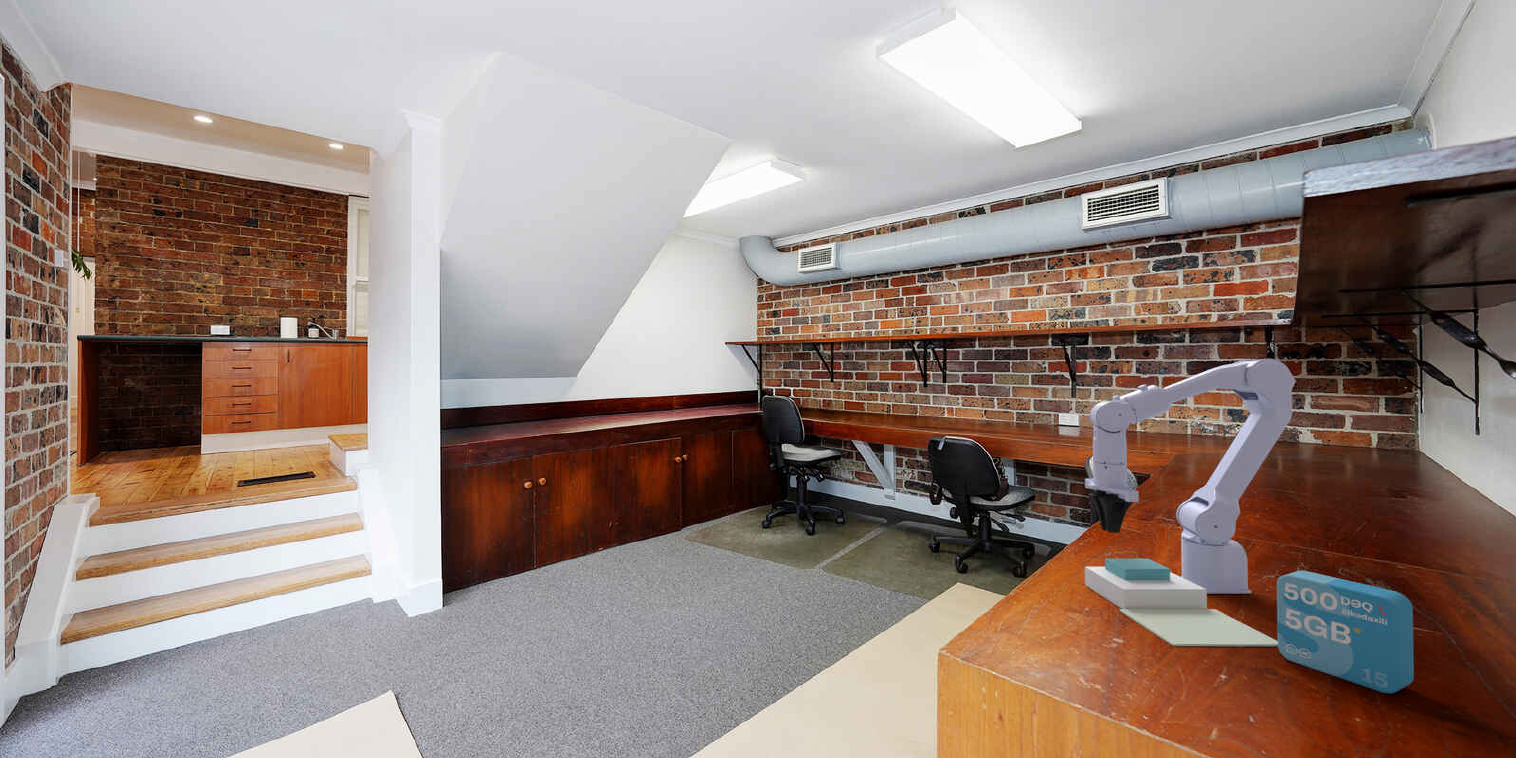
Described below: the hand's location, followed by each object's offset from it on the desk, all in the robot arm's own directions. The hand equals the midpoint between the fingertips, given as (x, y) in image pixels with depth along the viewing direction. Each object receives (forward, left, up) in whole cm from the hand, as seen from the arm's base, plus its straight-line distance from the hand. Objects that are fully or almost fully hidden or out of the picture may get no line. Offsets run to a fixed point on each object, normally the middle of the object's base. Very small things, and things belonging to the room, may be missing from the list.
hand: (1110, 531), depth 113 cm
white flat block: (0, +10, -9) cm, 13 cm away
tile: (0, +8, -6) cm, 10 cm away
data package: (-9, +37, -10) cm, 39 cm away
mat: (0, +23, -9) cm, 24 cm away
